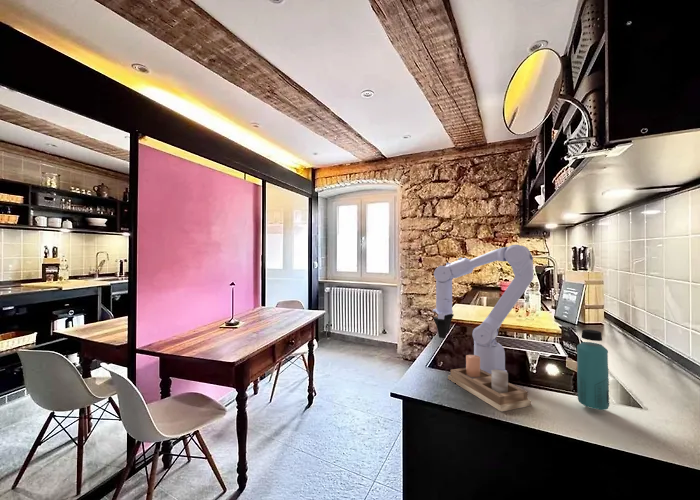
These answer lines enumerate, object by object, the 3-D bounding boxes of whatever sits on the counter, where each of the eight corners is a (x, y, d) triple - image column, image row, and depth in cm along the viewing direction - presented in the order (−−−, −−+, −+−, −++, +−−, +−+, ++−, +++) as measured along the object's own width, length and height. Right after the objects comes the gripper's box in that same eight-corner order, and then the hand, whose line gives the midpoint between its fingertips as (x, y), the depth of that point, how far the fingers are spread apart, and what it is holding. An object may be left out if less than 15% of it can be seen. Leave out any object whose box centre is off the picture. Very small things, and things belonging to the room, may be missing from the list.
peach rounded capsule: (474, 376, 95) (474, 354, 95) (483, 381, 91) (483, 358, 91) (463, 378, 94) (463, 355, 94) (472, 383, 90) (471, 359, 90)
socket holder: (474, 375, 99) (474, 353, 99) (531, 405, 79) (531, 377, 80) (448, 379, 96) (448, 356, 96) (501, 411, 76) (501, 382, 76)
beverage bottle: (612, 419, 73) (611, 335, 73) (577, 411, 76) (577, 331, 77) (607, 407, 78) (606, 329, 79) (575, 401, 82) (574, 326, 82)
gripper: (436, 295, 121) (436, 329, 121) (429, 300, 108) (429, 338, 108) (455, 296, 118) (455, 331, 118) (450, 301, 105) (449, 341, 105)
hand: (443, 335), depth 113 cm, fingers open, 7 cm apart
